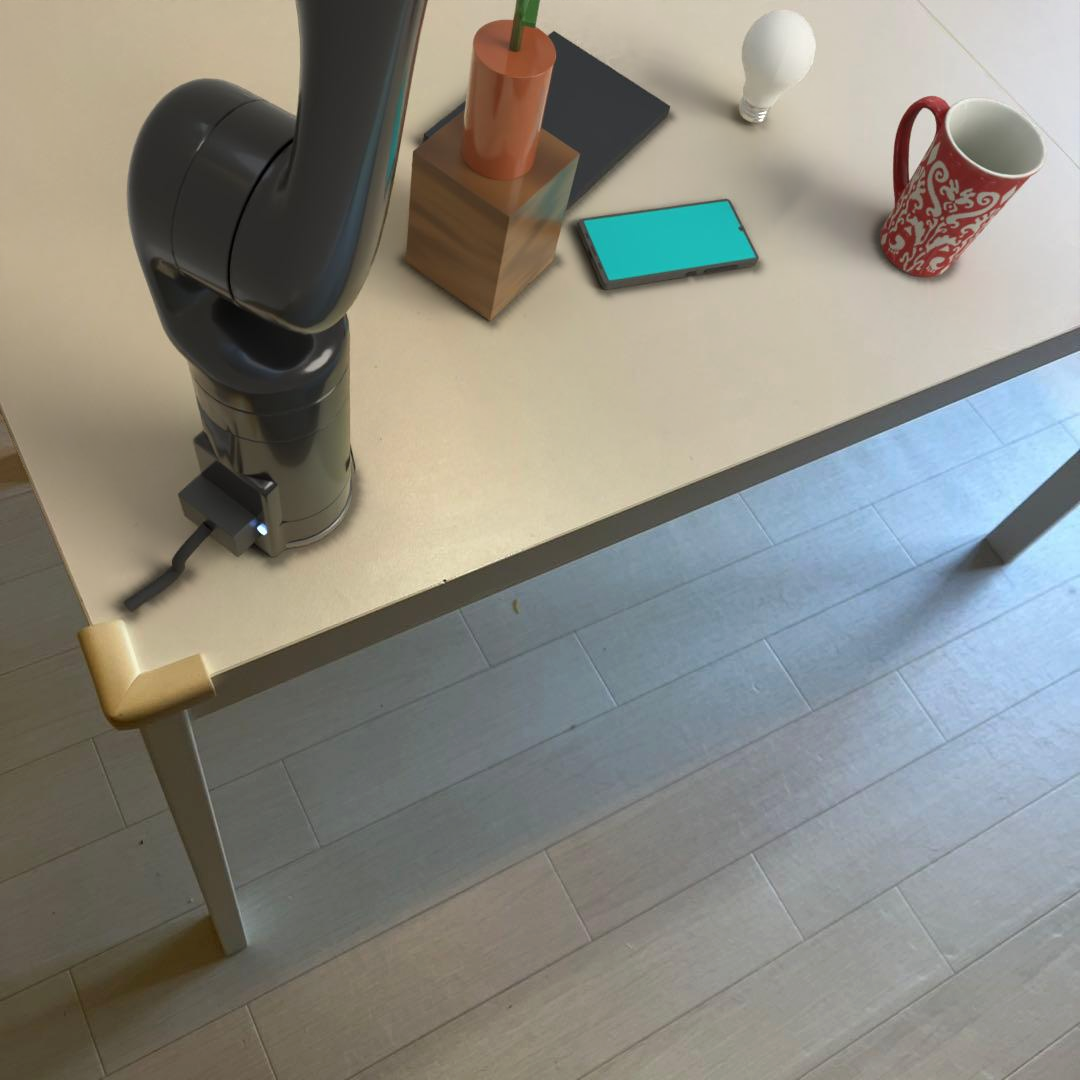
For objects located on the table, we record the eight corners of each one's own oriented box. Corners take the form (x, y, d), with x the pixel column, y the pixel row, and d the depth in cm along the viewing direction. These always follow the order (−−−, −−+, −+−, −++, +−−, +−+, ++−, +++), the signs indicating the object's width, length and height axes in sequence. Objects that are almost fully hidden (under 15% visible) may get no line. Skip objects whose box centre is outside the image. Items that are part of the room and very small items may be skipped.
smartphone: (577, 219, 89) (729, 198, 93) (575, 225, 90) (726, 204, 94) (605, 284, 87) (760, 260, 91) (603, 291, 87) (757, 266, 91)
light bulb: (779, 150, 99) (826, 52, 89) (713, 132, 98) (753, 32, 89) (784, 103, 102) (829, 4, 92) (720, 86, 102) (759, -15, 92)
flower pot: (505, 192, 74) (551, -69, 57) (445, 151, 75) (472, -118, 58) (551, 151, 77) (608, -110, 60) (492, 112, 78) (532, -157, 60)
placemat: (546, 229, 90) (549, 219, 88) (422, 144, 92) (423, 133, 91) (667, 116, 98) (670, 106, 97) (551, 41, 100) (553, 30, 99)
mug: (980, 269, 96) (1069, 159, 84) (910, 298, 93) (992, 188, 81) (900, 175, 100) (974, 57, 88) (830, 200, 97) (896, 81, 85)
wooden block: (489, 321, 84) (509, 217, 73) (405, 262, 85) (412, 150, 75) (553, 260, 88) (580, 153, 77) (471, 204, 89) (487, 91, 79)
